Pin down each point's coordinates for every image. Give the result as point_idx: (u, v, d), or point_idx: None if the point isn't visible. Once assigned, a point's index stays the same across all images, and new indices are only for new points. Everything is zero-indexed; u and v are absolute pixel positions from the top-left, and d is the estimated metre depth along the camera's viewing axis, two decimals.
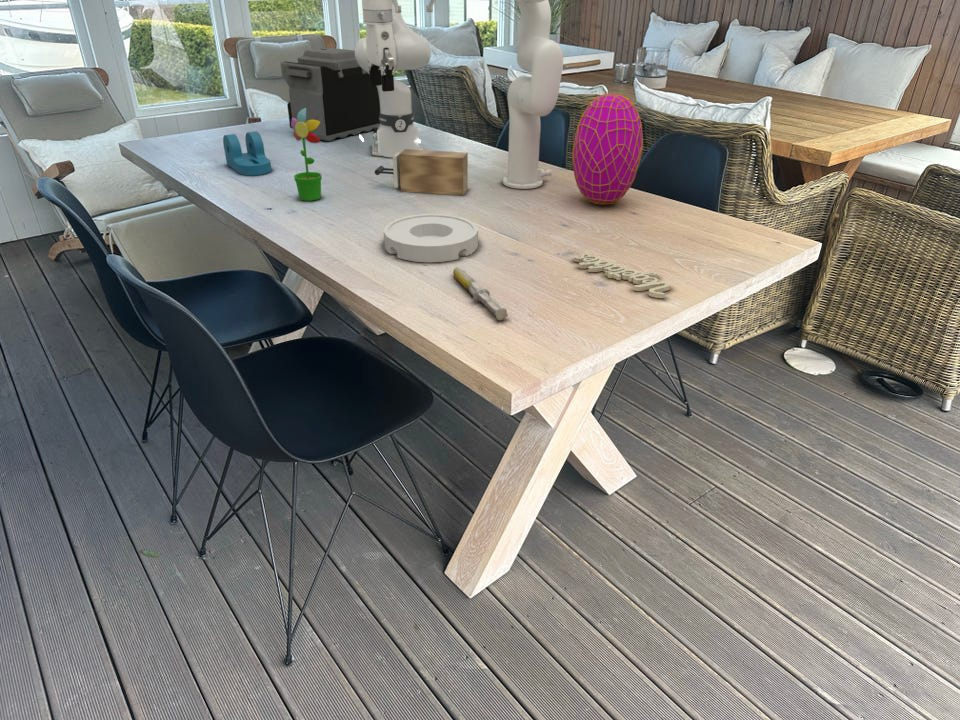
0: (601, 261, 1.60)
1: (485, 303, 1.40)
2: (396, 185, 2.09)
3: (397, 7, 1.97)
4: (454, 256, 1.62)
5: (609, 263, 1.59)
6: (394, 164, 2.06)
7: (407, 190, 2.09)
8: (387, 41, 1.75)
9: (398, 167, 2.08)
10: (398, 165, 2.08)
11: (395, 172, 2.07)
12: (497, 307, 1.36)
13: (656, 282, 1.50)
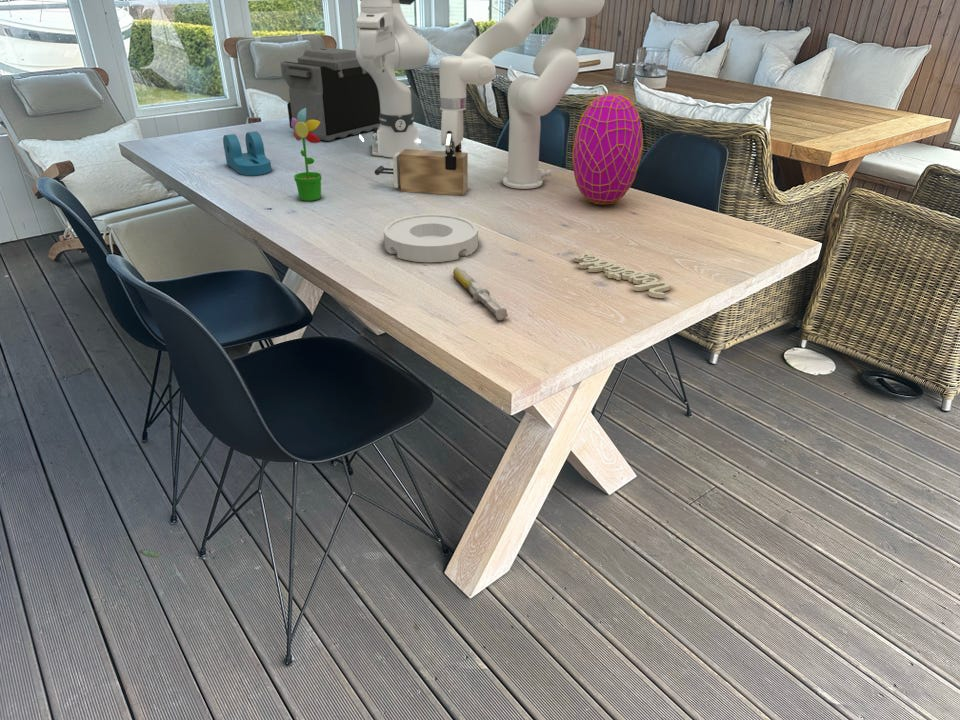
0: (601, 261, 1.60)
1: (485, 303, 1.40)
2: (396, 185, 2.09)
3: (382, 68, 1.94)
4: (454, 256, 1.62)
5: (609, 263, 1.59)
6: (394, 164, 2.06)
7: (407, 190, 2.09)
8: None
9: (398, 167, 2.08)
10: (398, 165, 2.08)
11: (395, 172, 2.07)
12: (497, 307, 1.36)
13: (656, 282, 1.50)
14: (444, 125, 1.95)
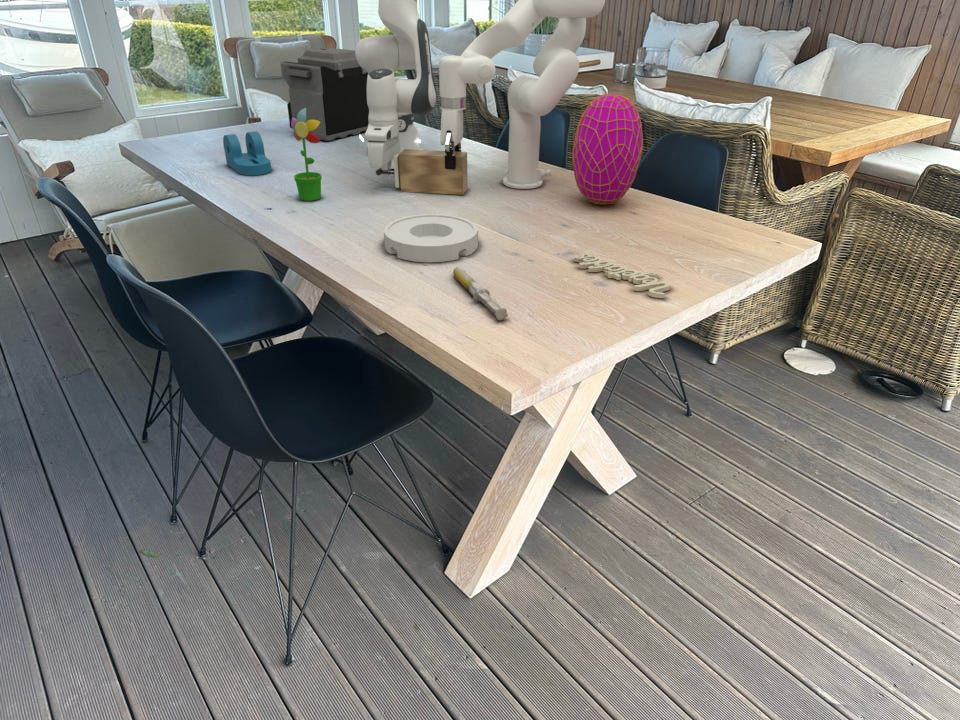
0: (601, 261, 1.60)
1: (485, 303, 1.40)
2: (397, 185, 2.09)
3: (388, 171, 2.09)
4: (454, 256, 1.62)
5: (609, 263, 1.59)
6: (395, 164, 2.06)
7: (407, 190, 2.09)
8: None
9: None
10: None
11: (396, 172, 2.07)
12: (497, 307, 1.36)
13: (656, 282, 1.50)
14: (444, 124, 1.95)
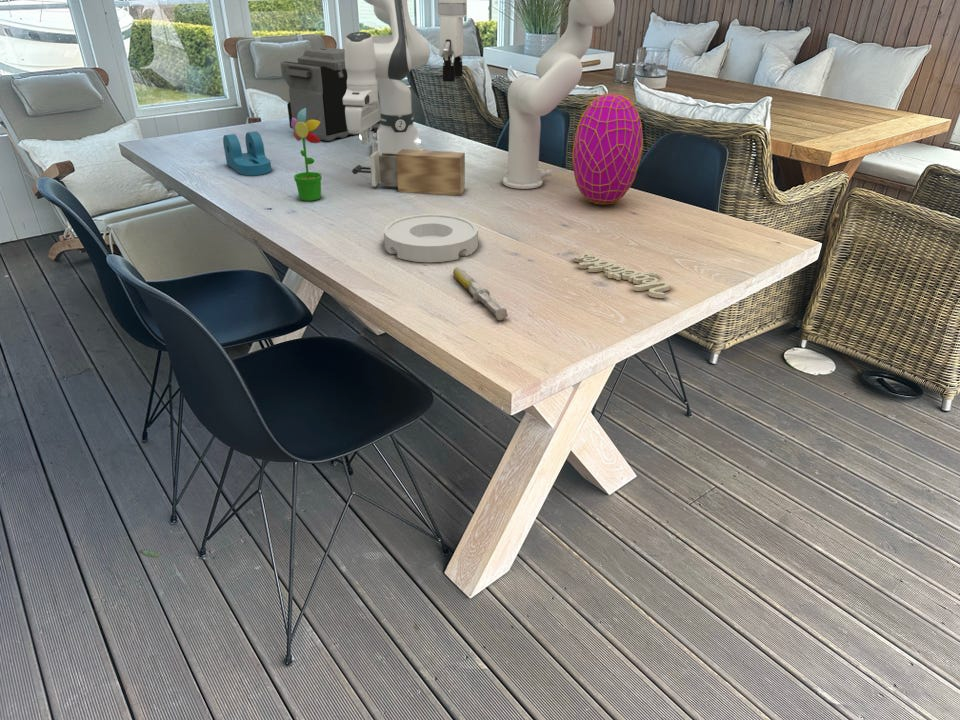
0: (601, 261, 1.60)
1: (485, 303, 1.40)
2: (374, 184, 2.10)
3: (367, 139, 2.05)
4: (454, 256, 1.62)
5: (609, 263, 1.59)
6: (371, 163, 2.07)
7: (404, 190, 2.09)
8: None
9: (375, 166, 2.09)
10: (375, 164, 2.08)
11: (372, 171, 2.08)
12: (497, 307, 1.36)
13: (656, 282, 1.50)
14: (443, 33, 1.83)
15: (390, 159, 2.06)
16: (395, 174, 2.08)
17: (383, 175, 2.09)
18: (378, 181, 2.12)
